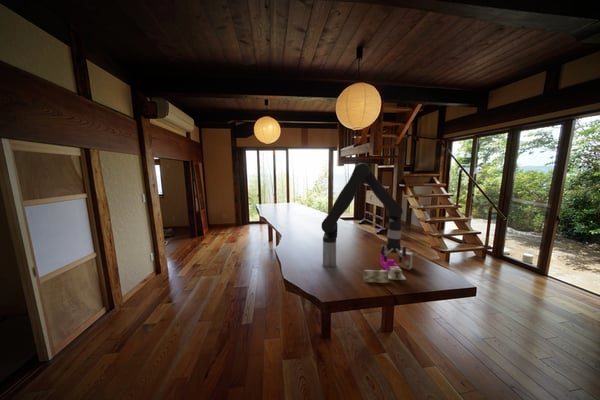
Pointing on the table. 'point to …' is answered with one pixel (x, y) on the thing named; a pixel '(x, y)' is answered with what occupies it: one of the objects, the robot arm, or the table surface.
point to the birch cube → (395, 272)
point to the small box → (406, 260)
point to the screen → (376, 276)
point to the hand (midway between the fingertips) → (392, 261)
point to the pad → (395, 279)
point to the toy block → (387, 263)
